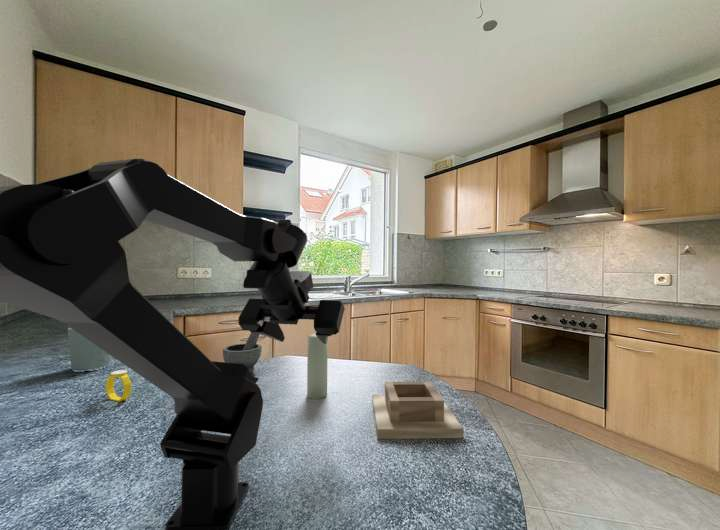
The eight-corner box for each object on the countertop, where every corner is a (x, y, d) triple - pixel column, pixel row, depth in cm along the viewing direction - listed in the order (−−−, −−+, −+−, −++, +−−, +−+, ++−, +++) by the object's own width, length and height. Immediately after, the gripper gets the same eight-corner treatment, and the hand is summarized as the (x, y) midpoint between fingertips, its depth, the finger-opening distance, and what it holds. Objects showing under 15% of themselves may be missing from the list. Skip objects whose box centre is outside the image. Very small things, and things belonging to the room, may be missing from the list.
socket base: (463, 438, 48) (463, 406, 48) (377, 438, 48) (377, 407, 48) (438, 401, 62) (438, 377, 62) (372, 402, 62) (372, 377, 62)
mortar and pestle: (239, 381, 74) (240, 332, 74) (214, 375, 78) (215, 329, 79) (271, 368, 84) (272, 326, 84) (248, 364, 88) (249, 323, 89)
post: (326, 398, 63) (326, 337, 64) (305, 398, 63) (306, 337, 64) (328, 390, 68) (328, 333, 68) (308, 390, 68) (309, 333, 68)
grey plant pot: (119, 366, 86) (121, 324, 86) (72, 376, 77) (74, 330, 78) (106, 361, 91) (107, 322, 92) (60, 369, 83) (62, 326, 83)
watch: (134, 400, 63) (136, 372, 63) (119, 405, 61) (122, 376, 61) (115, 394, 65) (117, 367, 65) (100, 399, 63) (103, 371, 63)
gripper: (341, 254, 52) (356, 310, 63) (248, 256, 57) (276, 308, 67) (326, 303, 44) (346, 357, 55) (219, 300, 49) (256, 351, 59)
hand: (304, 340), depth 59 cm, fingers open, 9 cm apart
